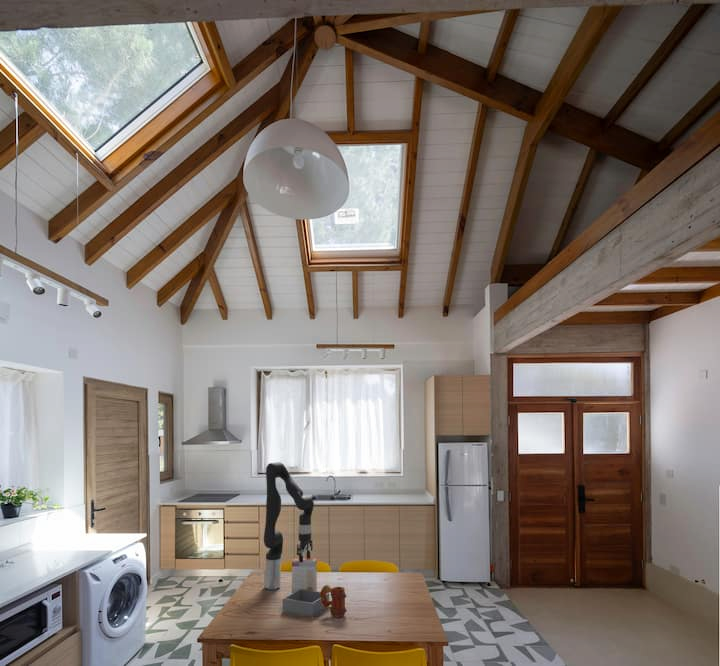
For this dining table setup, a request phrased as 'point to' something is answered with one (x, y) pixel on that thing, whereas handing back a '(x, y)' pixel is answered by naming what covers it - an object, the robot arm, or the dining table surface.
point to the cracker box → (304, 574)
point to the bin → (304, 603)
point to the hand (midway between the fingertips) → (304, 560)
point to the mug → (334, 600)
